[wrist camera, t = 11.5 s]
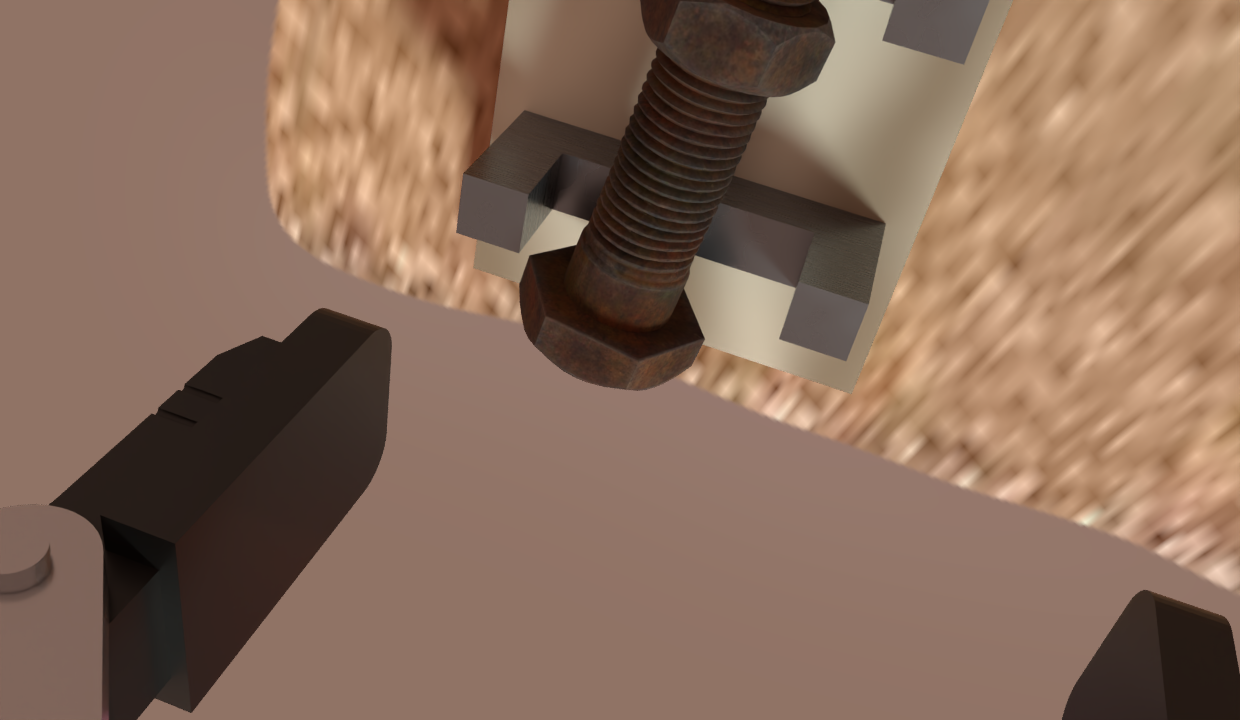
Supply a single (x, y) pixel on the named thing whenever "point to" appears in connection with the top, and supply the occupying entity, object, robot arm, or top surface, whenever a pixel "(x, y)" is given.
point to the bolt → (668, 188)
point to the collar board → (759, 149)
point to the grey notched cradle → (747, 216)
